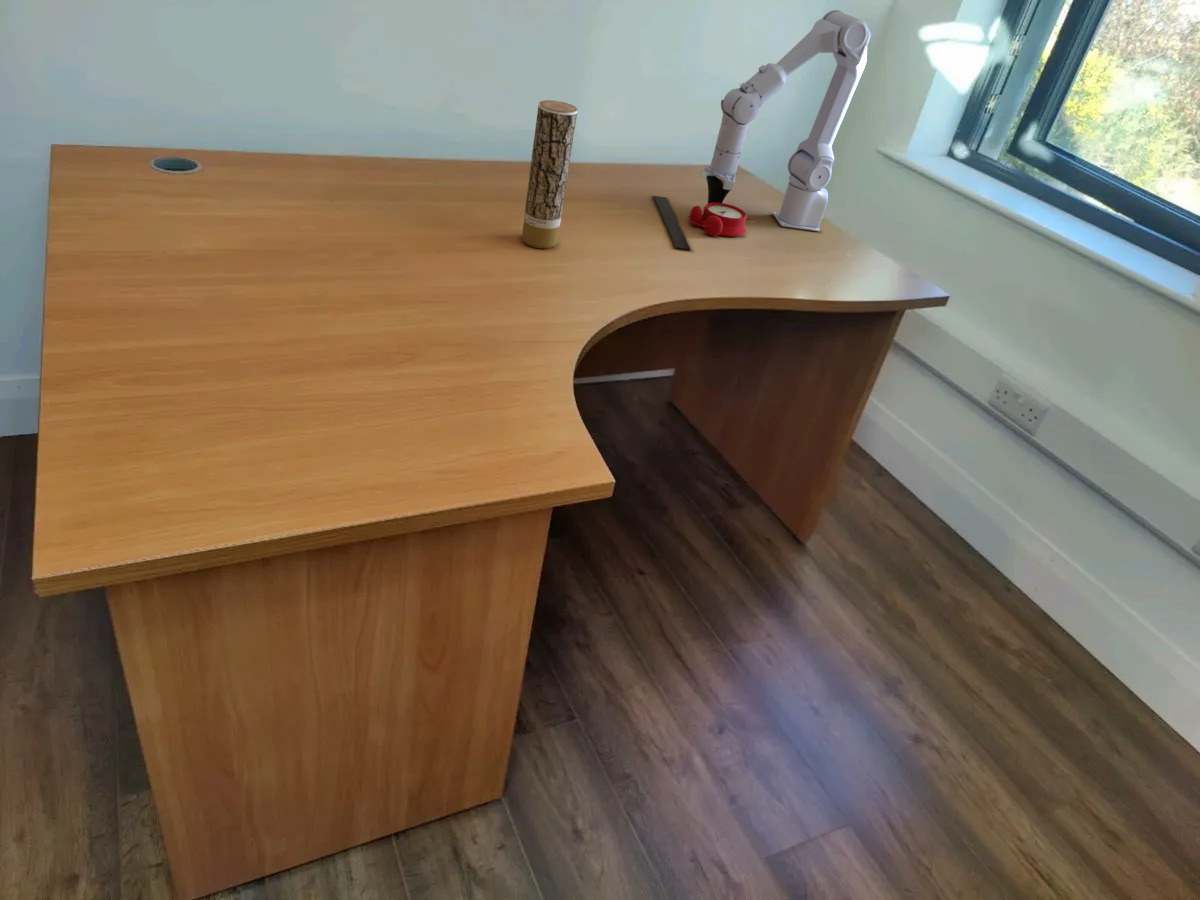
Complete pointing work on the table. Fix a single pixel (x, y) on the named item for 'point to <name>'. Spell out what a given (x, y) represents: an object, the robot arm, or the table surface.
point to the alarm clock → (719, 219)
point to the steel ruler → (671, 223)
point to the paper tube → (548, 173)
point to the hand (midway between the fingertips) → (712, 210)
